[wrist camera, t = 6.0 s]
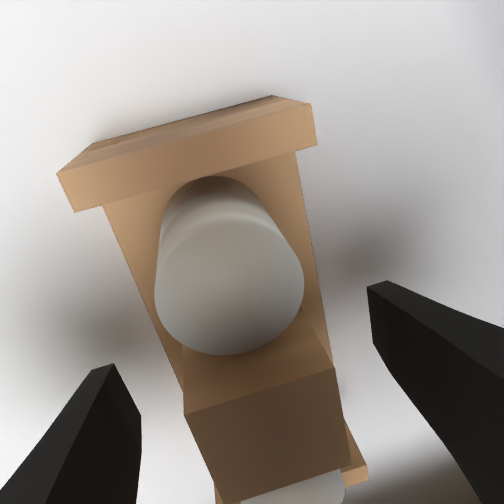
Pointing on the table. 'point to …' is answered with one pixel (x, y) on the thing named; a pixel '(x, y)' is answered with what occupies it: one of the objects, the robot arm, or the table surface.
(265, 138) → the caddy
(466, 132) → the table surface
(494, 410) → the robot arm
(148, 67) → the table surface
